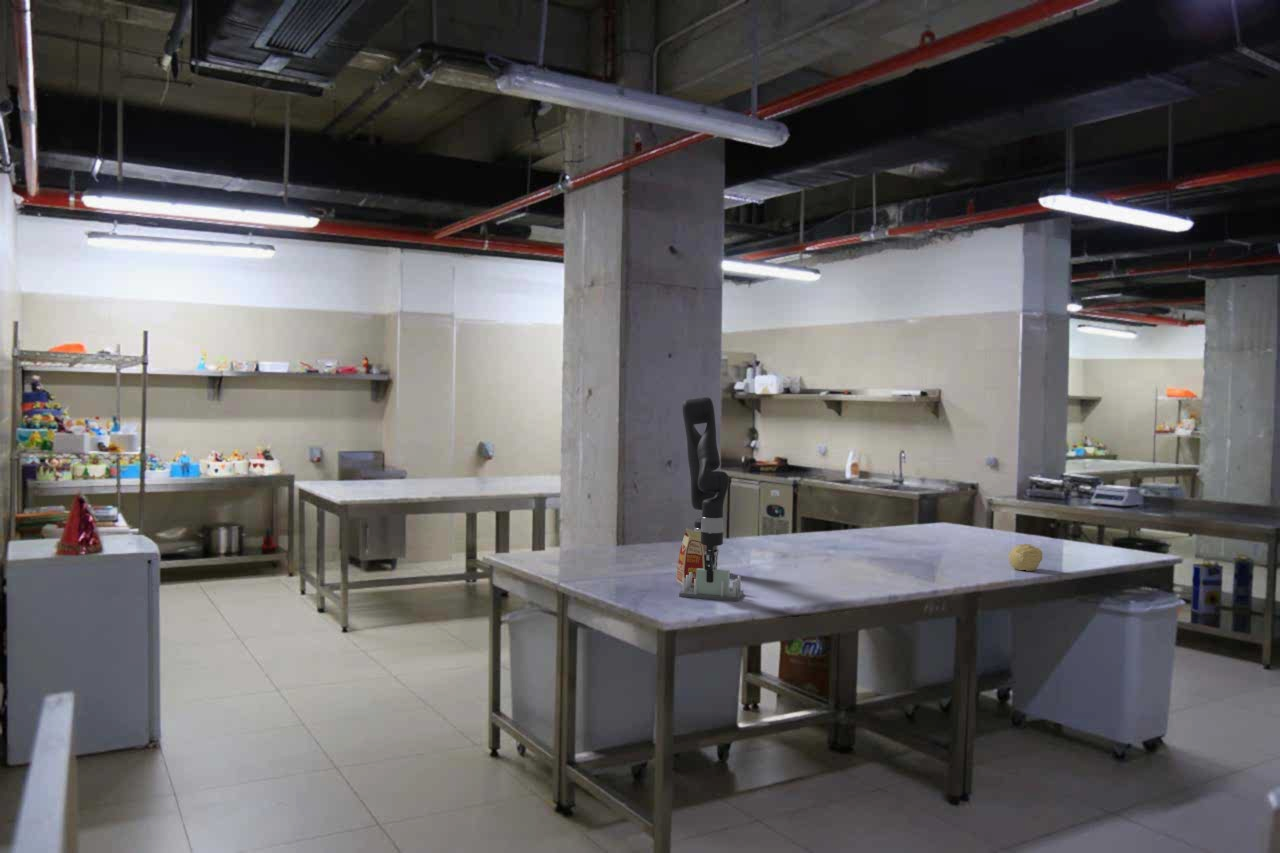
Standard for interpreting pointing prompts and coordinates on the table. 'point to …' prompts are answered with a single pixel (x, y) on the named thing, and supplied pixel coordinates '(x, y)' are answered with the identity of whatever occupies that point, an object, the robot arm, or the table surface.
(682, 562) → the milk carton
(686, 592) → the dish rack
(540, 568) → the table surface
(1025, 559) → the yellow lumpy ball
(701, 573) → the sage green prism
